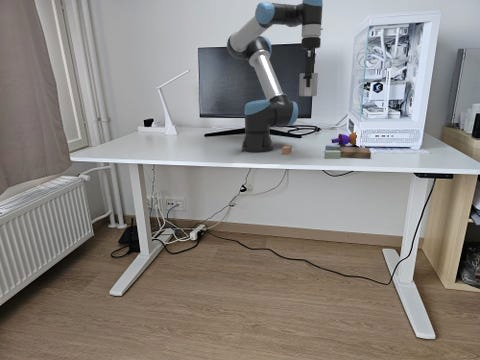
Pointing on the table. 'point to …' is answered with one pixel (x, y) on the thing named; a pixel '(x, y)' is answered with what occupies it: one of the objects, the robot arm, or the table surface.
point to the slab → (355, 152)
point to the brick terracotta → (286, 150)
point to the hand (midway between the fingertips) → (308, 95)
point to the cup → (314, 84)
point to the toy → (345, 139)
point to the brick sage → (332, 154)
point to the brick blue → (332, 148)
